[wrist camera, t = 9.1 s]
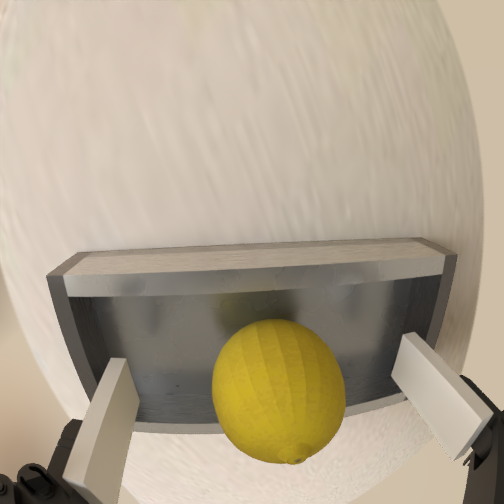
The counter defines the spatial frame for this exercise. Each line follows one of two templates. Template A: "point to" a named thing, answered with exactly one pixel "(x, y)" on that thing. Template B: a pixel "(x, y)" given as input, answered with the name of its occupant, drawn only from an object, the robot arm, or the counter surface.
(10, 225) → the counter surface
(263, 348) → the lemon
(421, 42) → the counter surface
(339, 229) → the counter surface
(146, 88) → the counter surface
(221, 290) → the tray
